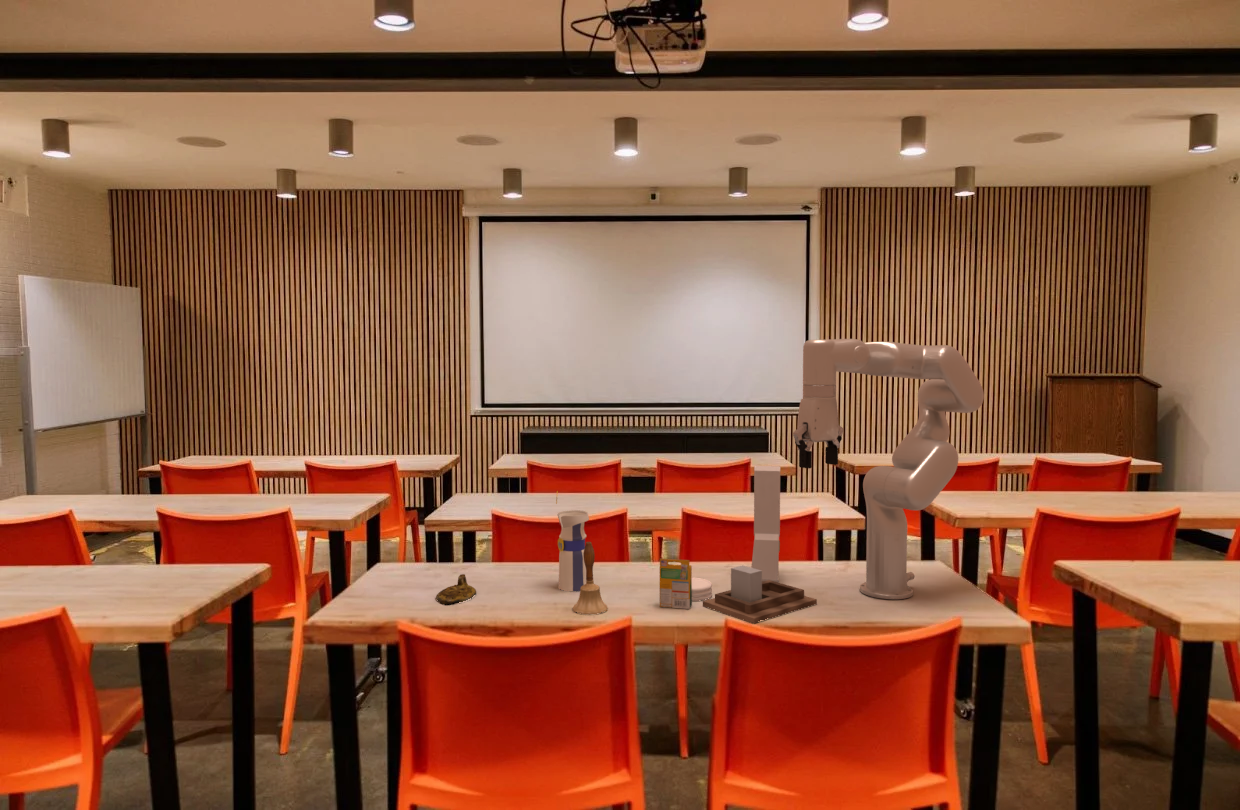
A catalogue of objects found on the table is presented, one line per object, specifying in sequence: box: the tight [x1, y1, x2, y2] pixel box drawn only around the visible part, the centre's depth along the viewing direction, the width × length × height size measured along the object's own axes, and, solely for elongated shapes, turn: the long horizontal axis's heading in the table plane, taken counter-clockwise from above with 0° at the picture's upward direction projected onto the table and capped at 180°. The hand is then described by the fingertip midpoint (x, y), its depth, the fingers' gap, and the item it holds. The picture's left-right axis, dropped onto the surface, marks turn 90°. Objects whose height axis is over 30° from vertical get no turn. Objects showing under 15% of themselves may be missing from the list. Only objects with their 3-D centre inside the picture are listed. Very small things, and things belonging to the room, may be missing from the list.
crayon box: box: [659, 558, 693, 610], centre depth 185 cm, size 7×3×12 cm, turn 75°
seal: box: [435, 573, 477, 605], centre depth 194 cm, size 9×5×15 cm
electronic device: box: [750, 465, 781, 583], centre depth 209 cm, size 12×8×30 cm, turn 168°
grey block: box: [730, 565, 762, 603], centre depth 183 cm, size 4×6×8 cm, turn 38°
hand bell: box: [572, 541, 609, 615], centre depth 183 cm, size 8×8×16 cm
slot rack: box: [702, 580, 818, 624], centre depth 186 cm, size 22×16×3 cm
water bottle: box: [555, 490, 590, 592], centre depth 201 cm, size 8×9×25 cm
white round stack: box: [692, 577, 713, 602], centre depth 194 cm, size 10×10×4 cm
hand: (818, 465), depth 183 cm, fingers open, 9 cm apart
